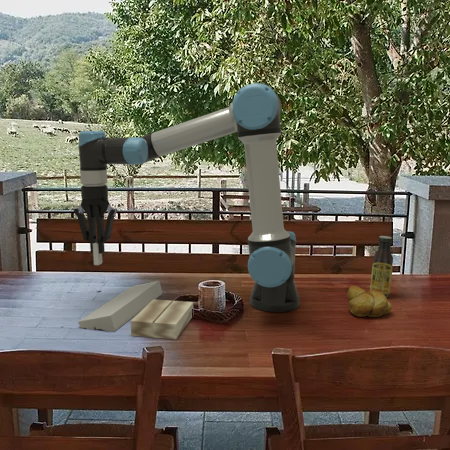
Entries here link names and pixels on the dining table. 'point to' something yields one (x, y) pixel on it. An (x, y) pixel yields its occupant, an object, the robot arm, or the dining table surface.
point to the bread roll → (367, 302)
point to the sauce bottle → (382, 267)
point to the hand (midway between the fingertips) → (98, 263)
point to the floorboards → (162, 319)
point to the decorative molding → (122, 307)
